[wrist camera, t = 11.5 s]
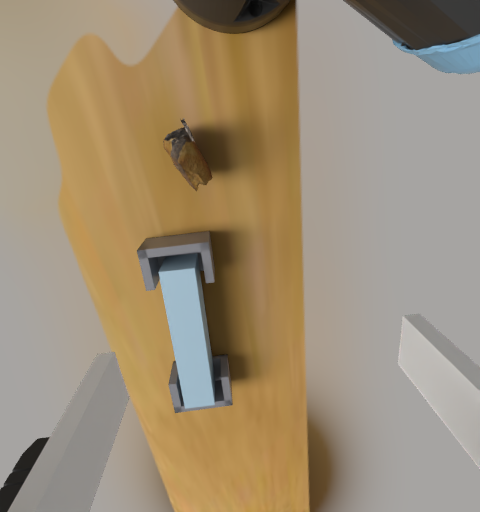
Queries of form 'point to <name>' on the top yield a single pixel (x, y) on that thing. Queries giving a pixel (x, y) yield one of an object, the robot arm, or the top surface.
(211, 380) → the slat
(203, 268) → the end caps
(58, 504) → the robot arm
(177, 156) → the rock
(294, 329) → the top surface
